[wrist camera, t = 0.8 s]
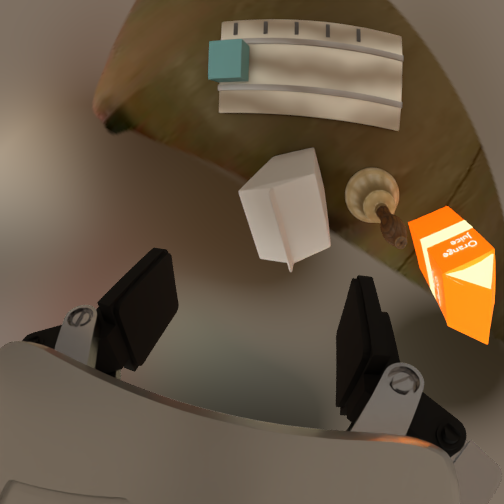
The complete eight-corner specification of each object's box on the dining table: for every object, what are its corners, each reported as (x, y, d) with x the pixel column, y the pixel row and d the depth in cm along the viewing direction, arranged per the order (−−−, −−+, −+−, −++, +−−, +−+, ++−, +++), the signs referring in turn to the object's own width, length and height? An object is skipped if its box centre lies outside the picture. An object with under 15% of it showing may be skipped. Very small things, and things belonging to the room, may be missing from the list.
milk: (284, 195, 39) (249, 281, 20) (272, 155, 37) (222, 204, 18) (325, 187, 37) (332, 269, 18) (314, 146, 35) (314, 183, 16)
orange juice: (447, 205, 33) (519, 273, 16) (456, 252, 36) (511, 332, 19) (406, 222, 36) (460, 304, 19) (418, 268, 39) (460, 358, 22)
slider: (220, 48, 28) (209, 41, 25) (249, 46, 28) (241, 38, 24) (218, 82, 31) (208, 78, 27) (248, 81, 30) (240, 77, 27)
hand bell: (346, 223, 39) (360, 284, 25) (342, 168, 35) (360, 202, 22) (398, 220, 37) (435, 278, 23) (397, 166, 33) (445, 199, 19)
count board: (226, 25, 28) (220, 20, 26) (397, 40, 24) (402, 35, 22) (223, 112, 35) (217, 112, 33) (394, 130, 31) (400, 131, 29)
